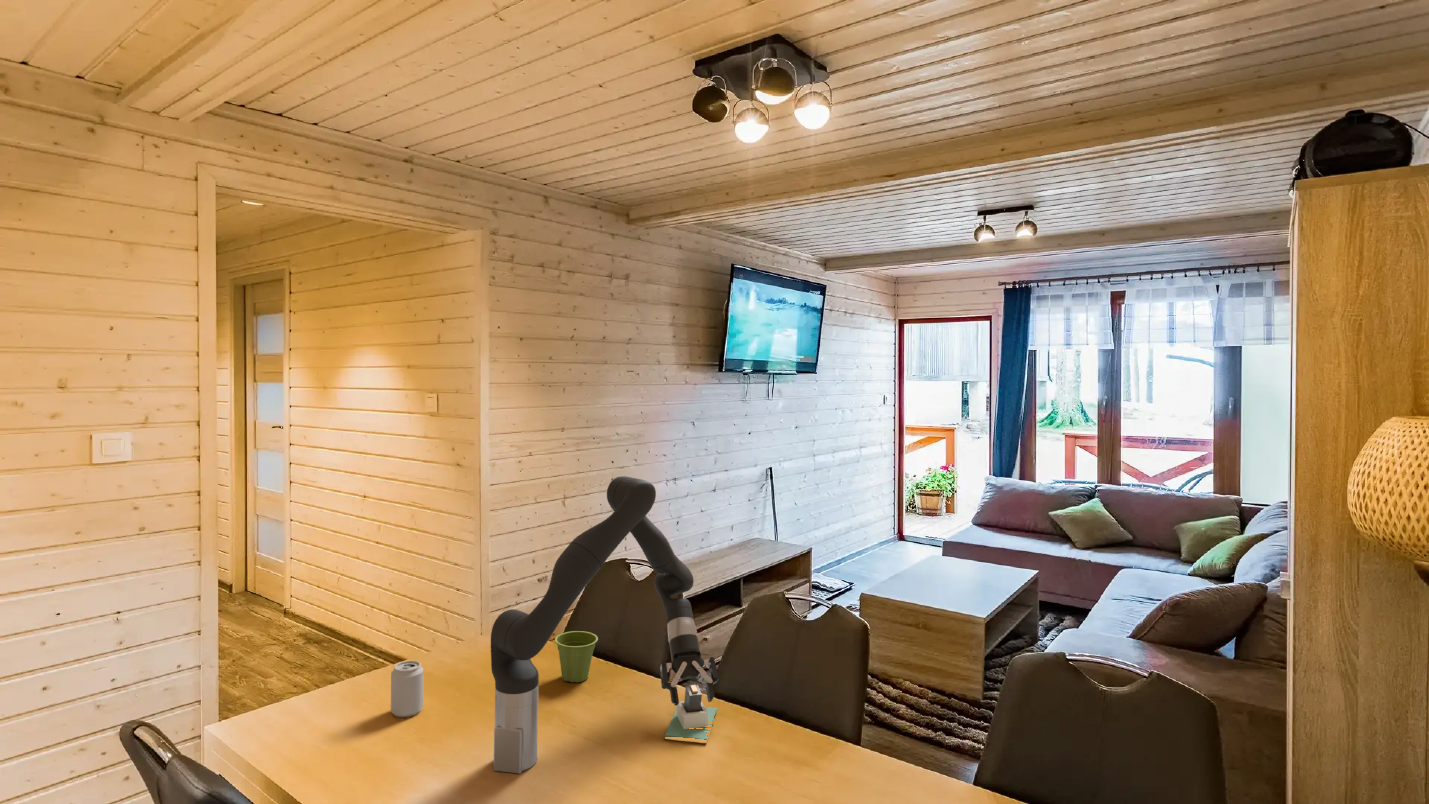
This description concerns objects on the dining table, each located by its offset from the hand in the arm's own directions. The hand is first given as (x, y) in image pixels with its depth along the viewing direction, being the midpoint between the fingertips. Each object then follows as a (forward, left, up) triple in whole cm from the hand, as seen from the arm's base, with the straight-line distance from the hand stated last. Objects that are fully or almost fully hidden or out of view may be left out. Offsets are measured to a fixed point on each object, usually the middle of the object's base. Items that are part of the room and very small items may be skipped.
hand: (693, 702), depth 178 cm
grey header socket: (+1, +1, -5) cm, 5 cm away
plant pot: (+21, +38, -7) cm, 44 cm away
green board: (+1, +1, -6) cm, 6 cm away
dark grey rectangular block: (+2, +1, -5) cm, 5 cm away
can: (-7, +72, -7) cm, 72 cm away
